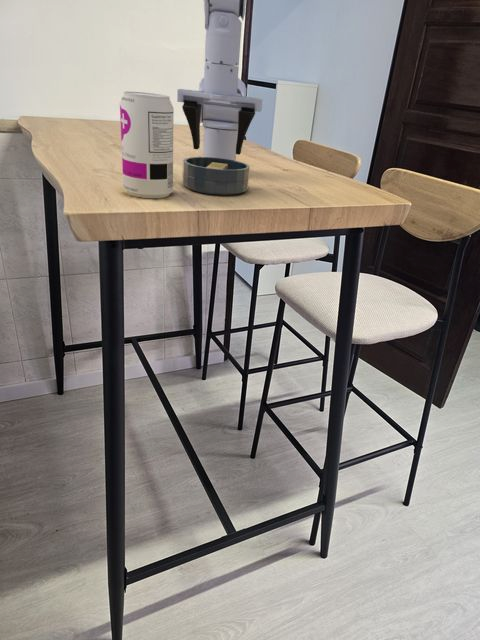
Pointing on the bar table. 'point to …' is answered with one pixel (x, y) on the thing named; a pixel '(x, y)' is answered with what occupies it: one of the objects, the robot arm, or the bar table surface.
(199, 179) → the bowl
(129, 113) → the supplement can
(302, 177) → the bar table surface
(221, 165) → the butter
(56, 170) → the bar table surface
